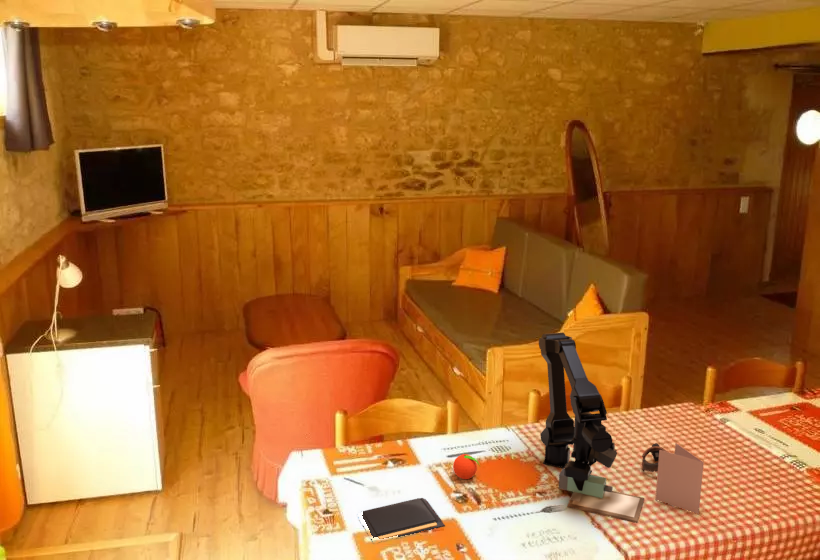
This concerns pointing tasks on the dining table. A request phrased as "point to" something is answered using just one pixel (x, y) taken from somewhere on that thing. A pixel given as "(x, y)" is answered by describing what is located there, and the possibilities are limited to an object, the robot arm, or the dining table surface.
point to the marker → (585, 485)
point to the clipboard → (609, 505)
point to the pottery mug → (655, 453)
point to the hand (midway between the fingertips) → (582, 486)
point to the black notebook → (402, 519)
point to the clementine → (465, 466)
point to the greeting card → (679, 479)
